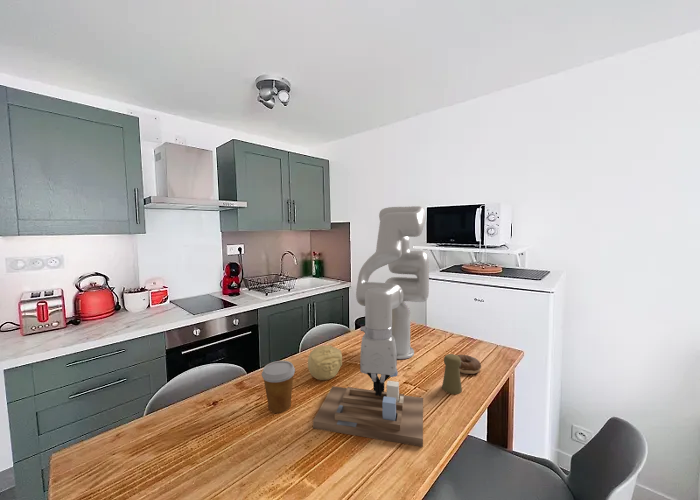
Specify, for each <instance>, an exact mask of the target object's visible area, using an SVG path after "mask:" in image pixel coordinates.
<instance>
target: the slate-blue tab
mask: <svg viewBox="0 0 700 500" xmlns="http://www.w3.org/2000/svg"><path fill="white" fill-rule="evenodd" d="M382 406H383V419H385V420H392V421H396V398H393V397H385V396H384V398H383V402H382Z"/></svg>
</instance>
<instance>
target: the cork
mask: <svg viewBox="0 0 700 500" xmlns="http://www.w3.org/2000/svg"><path fill="white" fill-rule="evenodd" d="M457 355H458V354H453V353H448V354H445V356H444V357H443V364H444V365H445V368H444V374H443V378H442V379H443V380H442V386H441V388H442V390H443V391H444V392H446V393H447V394H451V395H459V394H461V393H462V391H463V388H462V381H461V379H462V378H461V372H460V370H459V367H460V365H461V359H460V358H459V356H457Z"/></svg>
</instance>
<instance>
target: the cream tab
mask: <svg viewBox="0 0 700 500" xmlns="http://www.w3.org/2000/svg"><path fill="white" fill-rule="evenodd" d="M386 392H387V397H393V398H396V402H399V394H400V382H399V381H394V380H387V382H386Z"/></svg>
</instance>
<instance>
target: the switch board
mask: <svg viewBox="0 0 700 500" xmlns="http://www.w3.org/2000/svg"><path fill="white" fill-rule="evenodd" d="M326 395H327V396H326V397H325V399H324V401H323V402H322V404H321V406H320V408H319V409H318V411H317V413H316V415H315V417H314V418H313V420H312V428H313V429H315V430H321V431H326V432H327V431H328V432H333V433H338V434H339V433H340V434H345V435H352V436H355V437H363V438H369V439H373V440H381V441H387V442H392V443H393V442H394V443H398V444H404V445H405V444H406V445H409V446H410V445H411V446H414V447H415V446H416V447H422V448H423V447H424V397H420V396H411V395H405V393H399V402H396V421H392V420H385V419H383V406H382V402H383V398H384V396H385V397H387V391H384V392H382V394H381V396H379V395H377V396H375V391H374V390H373V389H366V388H358V387H351V386H350V387H349V386H348V387H342V386H341V387H340V386H336V385H335V386H334V385H333V386H331V388H330V389H329V392H328V393H327V394H326Z"/></svg>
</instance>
